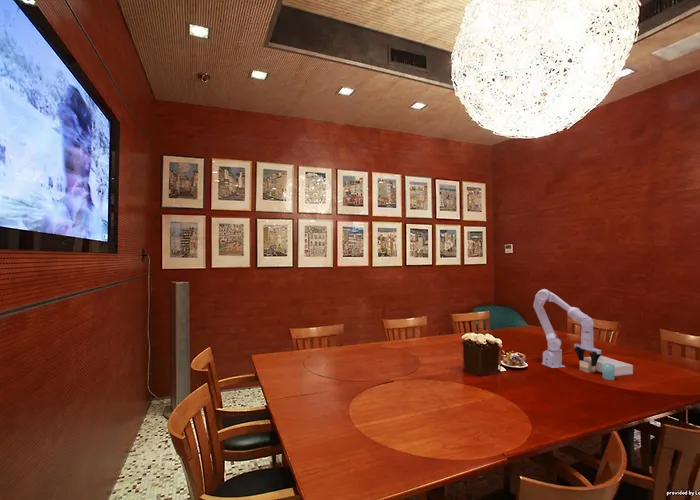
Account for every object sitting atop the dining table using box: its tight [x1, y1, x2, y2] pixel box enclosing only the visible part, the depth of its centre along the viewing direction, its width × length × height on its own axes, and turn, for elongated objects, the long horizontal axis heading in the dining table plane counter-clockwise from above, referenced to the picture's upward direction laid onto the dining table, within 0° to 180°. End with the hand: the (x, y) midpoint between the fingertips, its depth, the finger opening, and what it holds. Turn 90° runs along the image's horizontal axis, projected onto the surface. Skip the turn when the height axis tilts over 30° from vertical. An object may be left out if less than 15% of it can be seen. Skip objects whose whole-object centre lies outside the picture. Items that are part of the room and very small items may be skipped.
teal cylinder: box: [601, 363, 616, 381], centre depth 179 cm, size 5×5×7 cm
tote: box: [584, 355, 634, 377], centre depth 192 cm, size 13×17×5 cm
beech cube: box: [579, 360, 596, 374], centre depth 191 cm, size 5×5×5 cm
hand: (587, 363), depth 191 cm, fingers open, 7 cm apart
